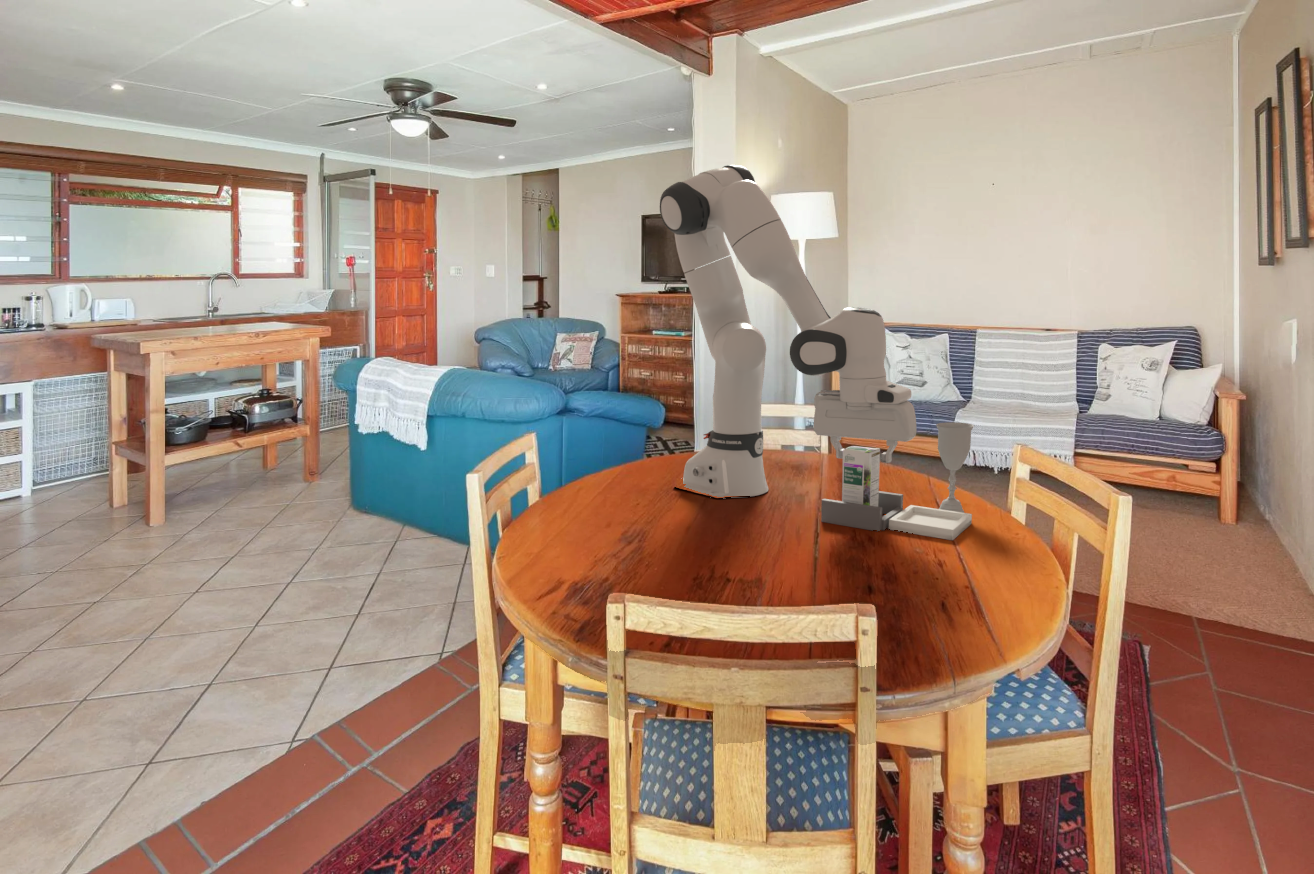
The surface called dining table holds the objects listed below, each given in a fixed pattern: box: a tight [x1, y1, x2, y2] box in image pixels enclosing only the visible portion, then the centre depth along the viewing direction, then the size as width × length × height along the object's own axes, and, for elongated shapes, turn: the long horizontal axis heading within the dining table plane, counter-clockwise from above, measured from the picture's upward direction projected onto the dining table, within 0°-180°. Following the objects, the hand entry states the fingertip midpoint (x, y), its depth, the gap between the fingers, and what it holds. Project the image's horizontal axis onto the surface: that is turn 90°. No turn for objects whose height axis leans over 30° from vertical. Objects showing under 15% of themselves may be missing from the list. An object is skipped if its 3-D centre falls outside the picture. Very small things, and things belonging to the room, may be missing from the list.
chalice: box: [935, 421, 975, 513], centre depth 156 cm, size 7×7×18 cm
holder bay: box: [820, 490, 904, 532], centre depth 153 cm, size 12×12×4 cm
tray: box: [888, 504, 973, 541], centre depth 148 cm, size 12×12×2 cm
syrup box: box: [841, 445, 881, 507], centre depth 153 cm, size 6×6×14 cm
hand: (863, 459), depth 152 cm, fingers open, 8 cm apart
